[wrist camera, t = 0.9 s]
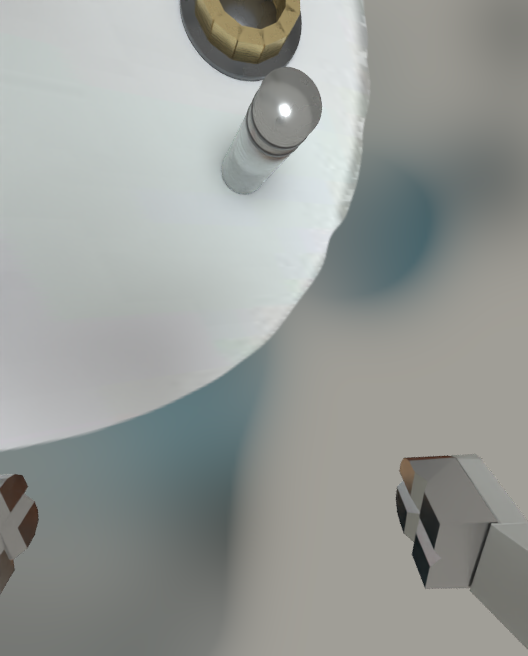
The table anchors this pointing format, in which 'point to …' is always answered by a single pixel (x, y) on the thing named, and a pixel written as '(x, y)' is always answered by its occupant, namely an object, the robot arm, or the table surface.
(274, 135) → the piston
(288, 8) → the ring seat
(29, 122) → the table surface
